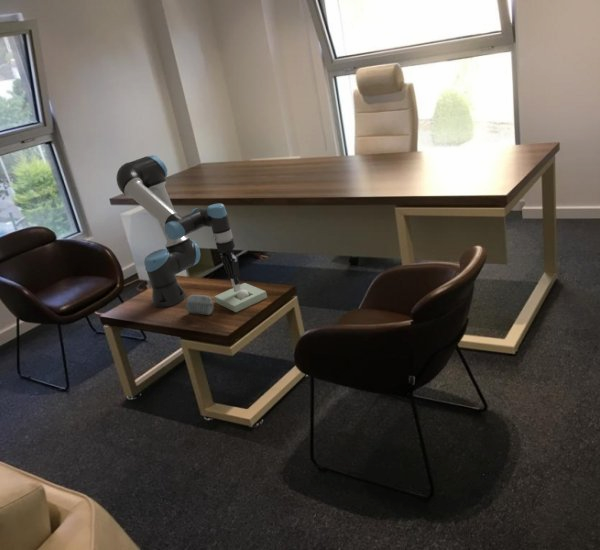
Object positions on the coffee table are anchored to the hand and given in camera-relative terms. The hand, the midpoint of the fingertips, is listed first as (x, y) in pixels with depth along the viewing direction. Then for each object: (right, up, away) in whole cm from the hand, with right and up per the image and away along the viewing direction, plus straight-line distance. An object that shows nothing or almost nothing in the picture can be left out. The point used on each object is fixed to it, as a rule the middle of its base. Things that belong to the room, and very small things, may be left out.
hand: (237, 290), depth 258 cm
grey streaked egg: (-15, -10, -4) cm, 18 cm away
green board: (+2, -4, 0) cm, 4 cm away
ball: (+3, -2, -3) cm, 4 cm away
